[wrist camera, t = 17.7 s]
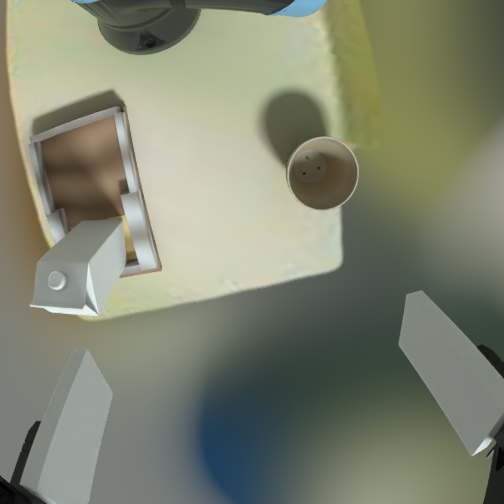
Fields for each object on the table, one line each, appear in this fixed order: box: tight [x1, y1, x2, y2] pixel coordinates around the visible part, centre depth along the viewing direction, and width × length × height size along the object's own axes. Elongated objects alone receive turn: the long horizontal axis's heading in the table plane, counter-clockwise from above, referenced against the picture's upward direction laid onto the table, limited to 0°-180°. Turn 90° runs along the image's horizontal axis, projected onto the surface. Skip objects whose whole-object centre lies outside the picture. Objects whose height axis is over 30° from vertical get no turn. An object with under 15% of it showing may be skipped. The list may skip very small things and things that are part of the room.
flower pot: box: [286, 136, 359, 211], centre depth 42 cm, size 10×10×7 cm
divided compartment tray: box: [29, 106, 162, 278], centre depth 43 cm, size 26×16×3 cm, turn 8°
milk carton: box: [30, 220, 127, 316], centre depth 37 cm, size 7×7×19 cm
